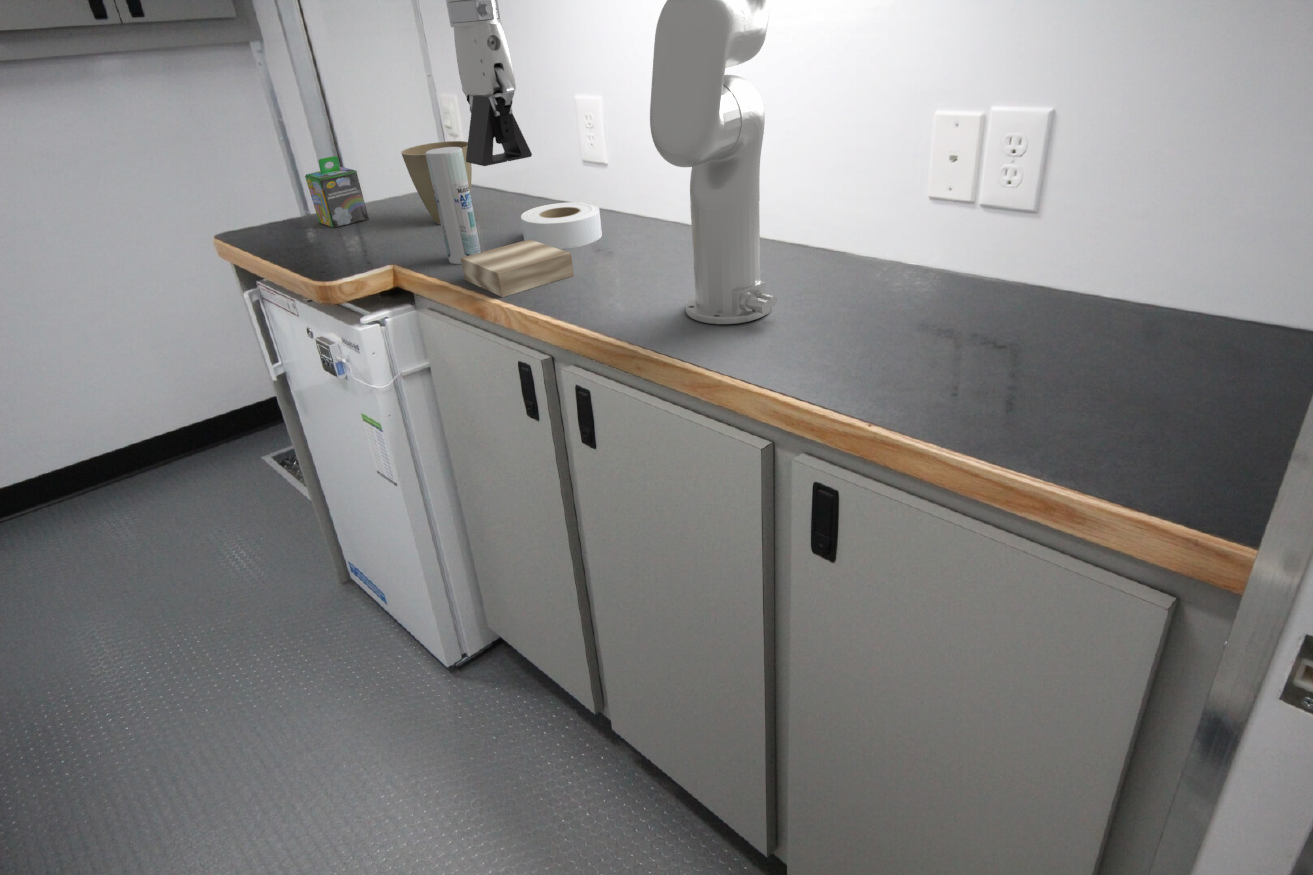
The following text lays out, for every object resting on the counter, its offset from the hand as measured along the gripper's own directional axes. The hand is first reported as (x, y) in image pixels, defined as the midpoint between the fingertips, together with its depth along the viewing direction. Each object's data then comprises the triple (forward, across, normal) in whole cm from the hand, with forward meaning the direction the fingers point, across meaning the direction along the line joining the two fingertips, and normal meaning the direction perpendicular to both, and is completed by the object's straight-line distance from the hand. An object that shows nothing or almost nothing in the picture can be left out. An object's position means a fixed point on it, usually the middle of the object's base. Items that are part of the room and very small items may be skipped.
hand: (495, 139), depth 127 cm
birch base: (+23, 0, 0) cm, 23 cm away
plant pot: (+23, +51, -11) cm, 57 cm away
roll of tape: (+23, +16, -19) cm, 34 cm away
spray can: (+23, +19, +1) cm, 30 cm away
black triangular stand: (+3, 0, 0) cm, 3 cm away
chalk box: (+23, +74, +6) cm, 78 cm away
